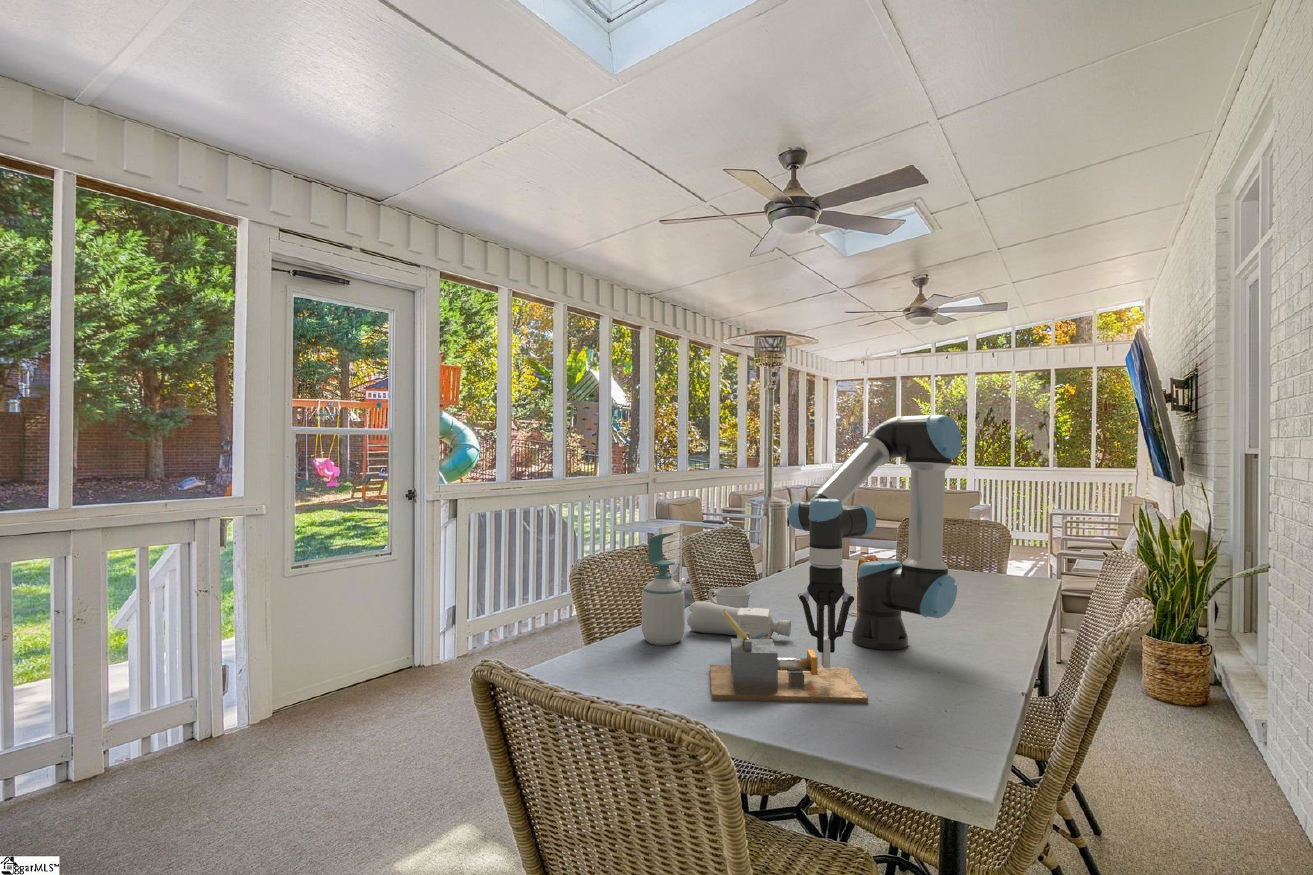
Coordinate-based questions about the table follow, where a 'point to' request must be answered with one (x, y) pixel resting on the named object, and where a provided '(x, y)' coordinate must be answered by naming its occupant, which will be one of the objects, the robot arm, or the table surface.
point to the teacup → (731, 597)
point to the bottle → (712, 621)
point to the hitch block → (778, 678)
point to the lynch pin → (800, 663)
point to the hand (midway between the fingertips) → (825, 666)
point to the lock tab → (734, 625)
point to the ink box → (754, 622)
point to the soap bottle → (662, 600)
